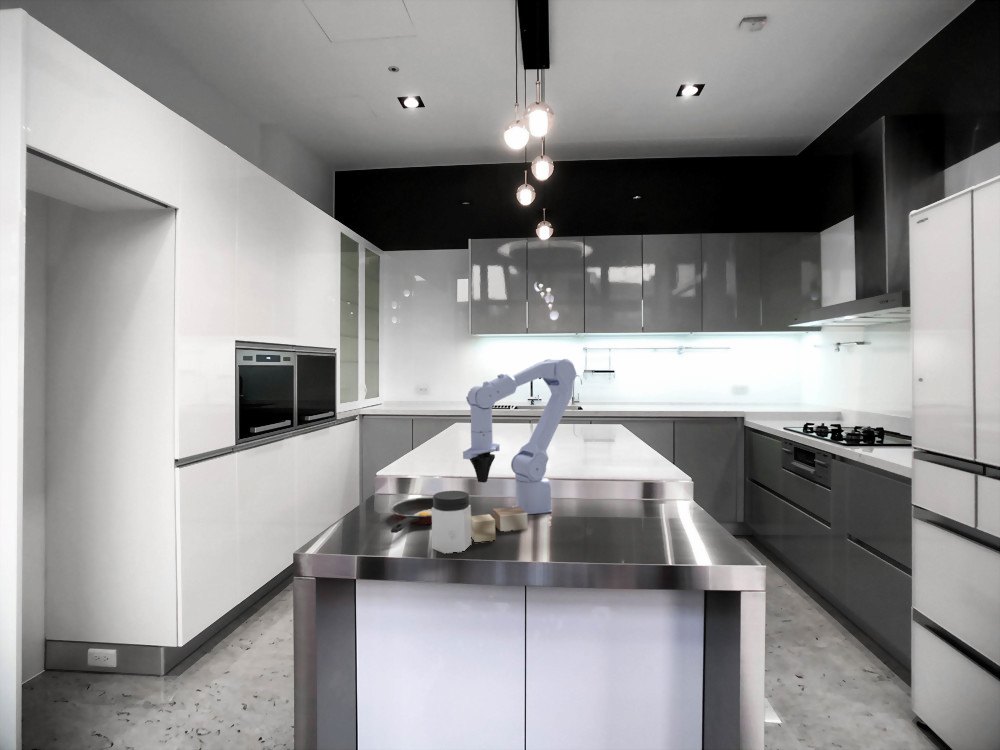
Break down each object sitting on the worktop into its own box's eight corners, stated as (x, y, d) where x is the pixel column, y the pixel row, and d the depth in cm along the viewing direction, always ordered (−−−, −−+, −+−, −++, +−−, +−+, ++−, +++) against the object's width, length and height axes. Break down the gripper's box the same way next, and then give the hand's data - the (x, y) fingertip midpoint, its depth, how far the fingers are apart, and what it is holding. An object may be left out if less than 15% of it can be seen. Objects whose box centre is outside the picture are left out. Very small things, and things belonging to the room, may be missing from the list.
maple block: (489, 534, 130) (489, 514, 130) (495, 541, 125) (495, 520, 125) (469, 536, 129) (469, 516, 128) (474, 543, 124) (474, 522, 124)
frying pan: (467, 508, 153) (467, 495, 153) (433, 547, 121) (432, 531, 121) (404, 506, 156) (404, 493, 156) (355, 543, 125) (355, 528, 125)
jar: (434, 555, 116) (433, 500, 116) (430, 543, 124) (429, 492, 124) (474, 551, 118) (473, 497, 118) (468, 539, 126) (467, 489, 126)
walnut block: (527, 529, 134) (518, 521, 140) (527, 513, 133) (518, 506, 140) (500, 532, 132) (493, 524, 138) (500, 516, 132) (493, 508, 138)
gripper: (478, 435, 134) (479, 489, 134) (508, 428, 146) (509, 477, 147) (456, 433, 138) (457, 486, 138) (487, 427, 150) (487, 475, 150)
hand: (482, 481), depth 143 cm, fingers closed
